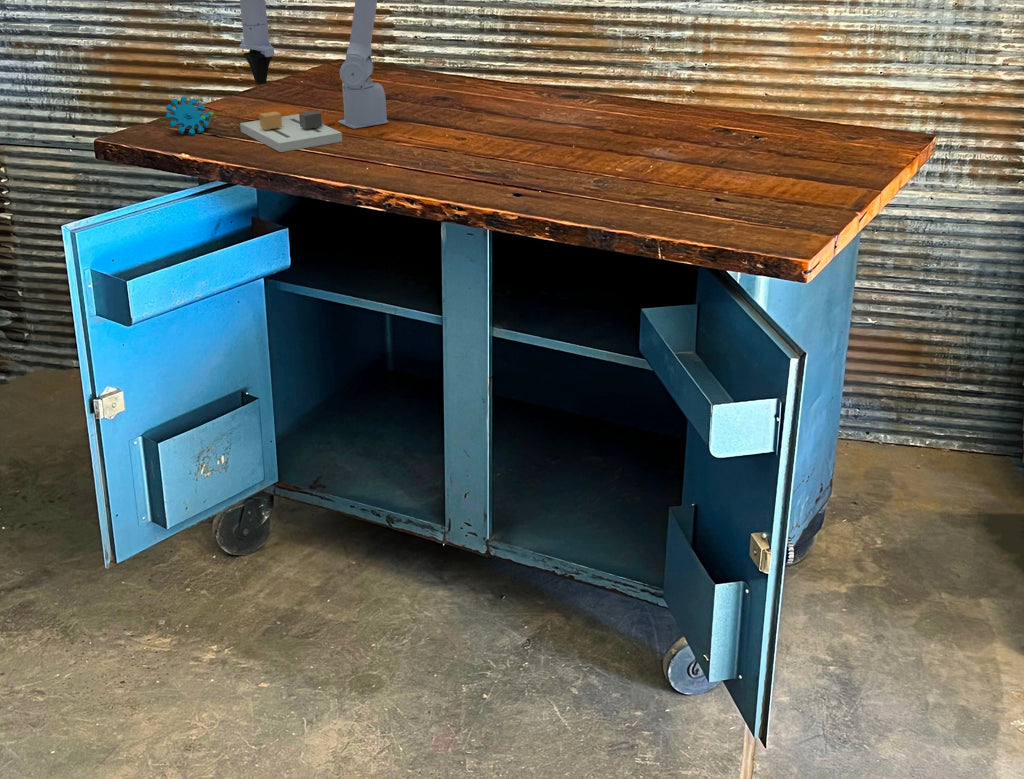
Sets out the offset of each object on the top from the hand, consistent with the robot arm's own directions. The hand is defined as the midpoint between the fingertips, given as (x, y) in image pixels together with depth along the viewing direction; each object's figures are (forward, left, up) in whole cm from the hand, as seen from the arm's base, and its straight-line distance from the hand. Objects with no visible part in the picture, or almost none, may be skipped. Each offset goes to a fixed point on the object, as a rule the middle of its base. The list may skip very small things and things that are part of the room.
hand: (261, 83), depth 288 cm
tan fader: (+4, +13, -7) cm, 15 cm away
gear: (+17, -3, -10) cm, 20 cm away
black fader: (-4, +18, -7) cm, 20 cm away
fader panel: (0, +15, -9) cm, 18 cm away
